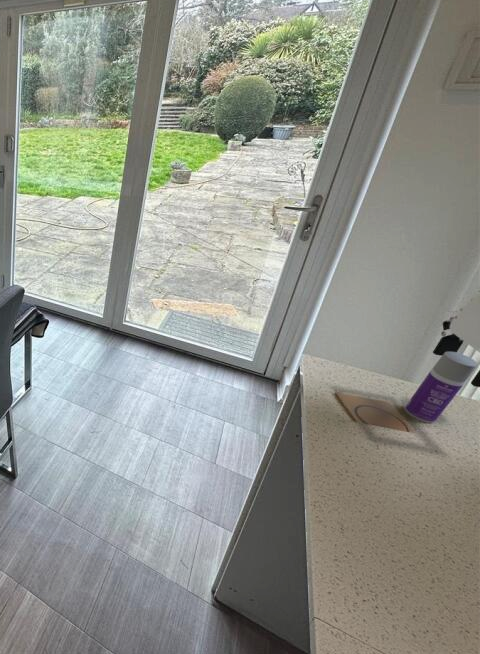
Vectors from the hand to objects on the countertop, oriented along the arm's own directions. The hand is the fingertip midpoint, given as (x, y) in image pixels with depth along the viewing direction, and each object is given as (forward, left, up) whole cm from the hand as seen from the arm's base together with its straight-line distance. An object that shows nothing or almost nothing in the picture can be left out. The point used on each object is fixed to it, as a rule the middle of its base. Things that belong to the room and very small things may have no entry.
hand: (461, 370), depth 79 cm
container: (+1, -1, -13) cm, 13 cm away
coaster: (+10, +4, -13) cm, 17 cm away
